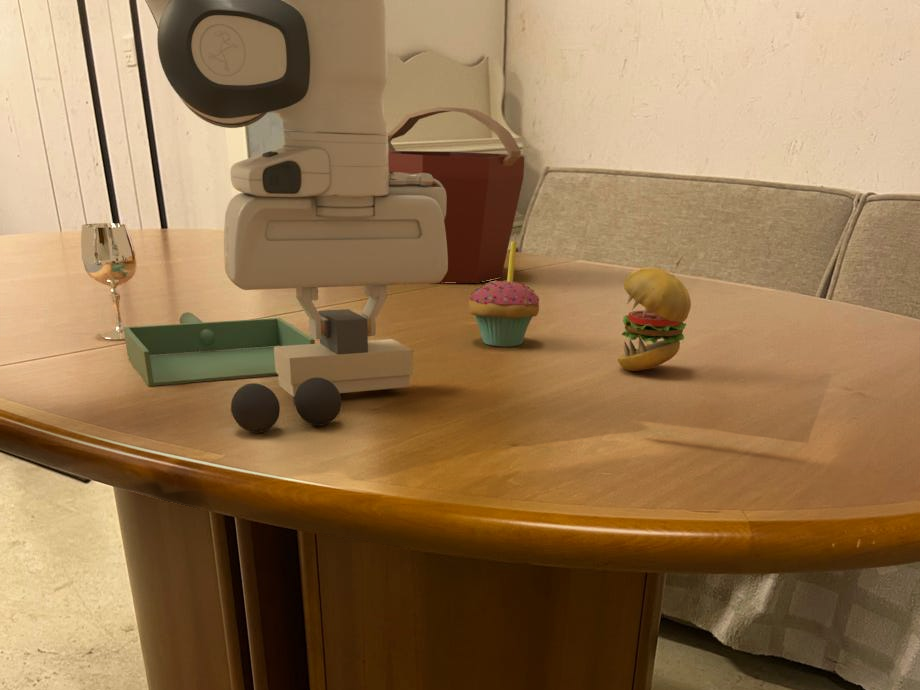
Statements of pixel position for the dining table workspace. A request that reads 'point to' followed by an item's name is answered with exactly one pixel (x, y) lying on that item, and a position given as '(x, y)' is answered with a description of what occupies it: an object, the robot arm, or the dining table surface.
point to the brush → (345, 358)
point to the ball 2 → (317, 401)
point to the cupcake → (504, 308)
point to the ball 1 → (255, 407)
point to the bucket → (469, 196)
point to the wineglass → (109, 261)
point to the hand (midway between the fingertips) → (342, 336)
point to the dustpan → (208, 349)
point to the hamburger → (654, 317)
